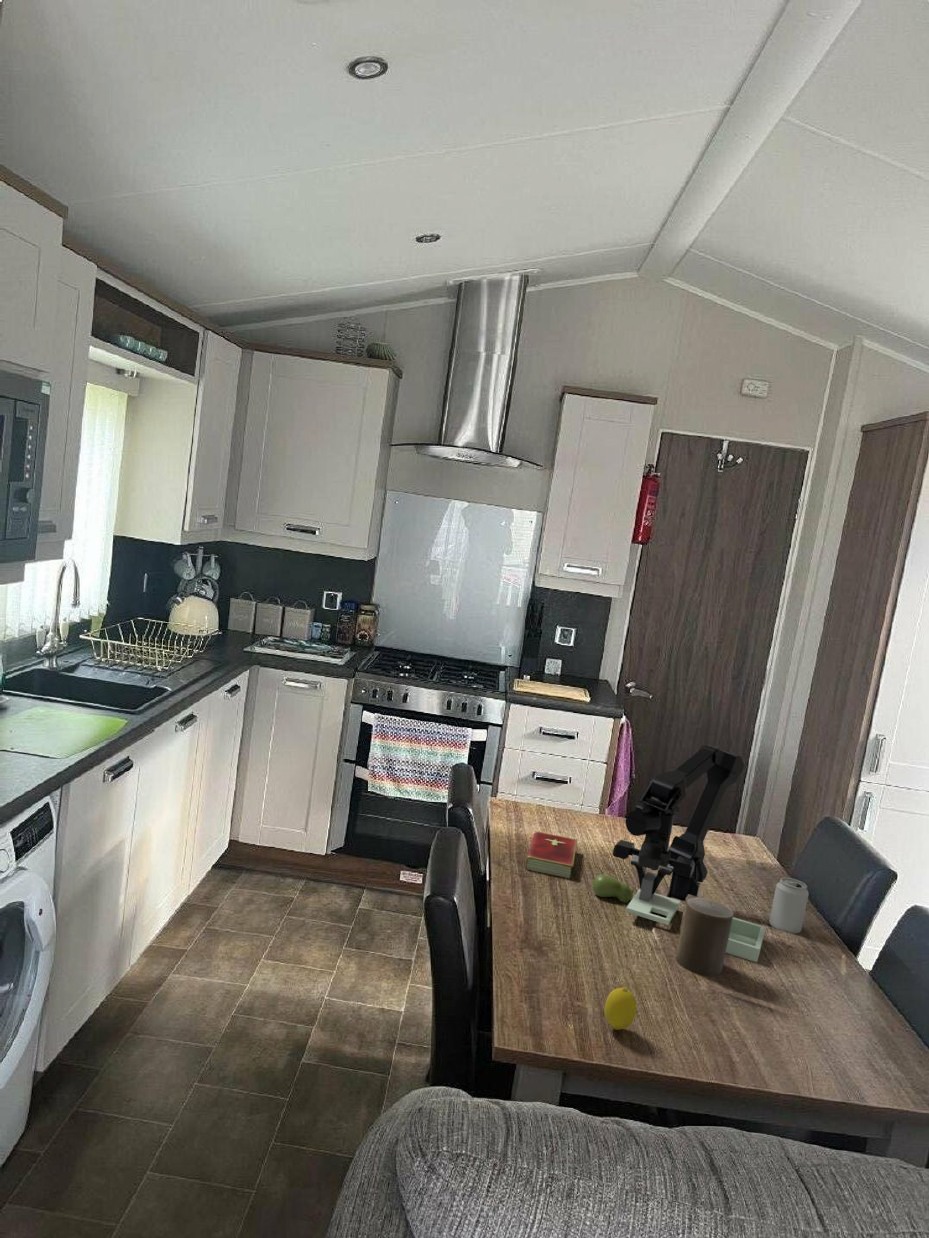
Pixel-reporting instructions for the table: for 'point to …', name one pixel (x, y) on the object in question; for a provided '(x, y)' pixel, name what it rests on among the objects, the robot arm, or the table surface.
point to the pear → (611, 888)
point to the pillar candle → (704, 936)
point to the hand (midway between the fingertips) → (647, 892)
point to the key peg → (685, 908)
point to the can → (789, 905)
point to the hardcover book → (551, 854)
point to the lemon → (620, 1008)
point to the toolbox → (745, 939)
